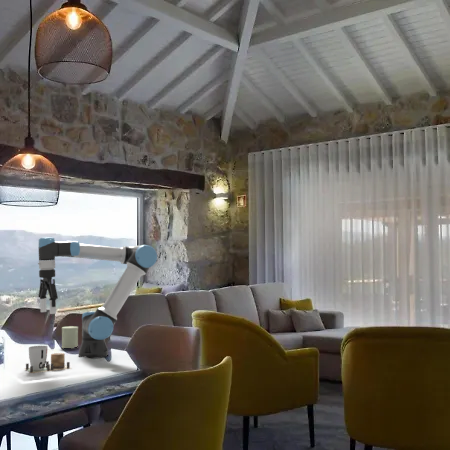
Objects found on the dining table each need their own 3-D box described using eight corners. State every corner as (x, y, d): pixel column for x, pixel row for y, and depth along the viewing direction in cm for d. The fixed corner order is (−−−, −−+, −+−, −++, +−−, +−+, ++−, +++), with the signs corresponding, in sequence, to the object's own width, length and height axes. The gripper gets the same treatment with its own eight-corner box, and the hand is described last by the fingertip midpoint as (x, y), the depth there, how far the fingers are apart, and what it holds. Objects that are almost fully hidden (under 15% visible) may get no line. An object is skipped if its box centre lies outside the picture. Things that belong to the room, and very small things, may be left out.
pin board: (63, 366, 265) (63, 358, 265) (71, 371, 254) (71, 362, 254) (23, 371, 255) (23, 363, 255) (31, 376, 244) (31, 367, 244)
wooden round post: (62, 365, 261) (62, 352, 262) (66, 367, 256) (66, 354, 256) (49, 367, 258) (49, 353, 258) (53, 369, 253) (53, 355, 253)
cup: (41, 371, 247) (41, 348, 248) (24, 370, 249) (25, 348, 250) (50, 368, 255) (51, 345, 256) (34, 367, 257) (34, 345, 257)
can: (81, 347, 323) (81, 326, 324) (67, 349, 316) (67, 327, 317) (72, 345, 329) (72, 325, 330) (58, 347, 322) (58, 326, 323)
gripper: (31, 269, 281) (32, 312, 280) (48, 269, 261) (49, 315, 260) (46, 268, 285) (47, 310, 284) (63, 268, 265) (65, 313, 264)
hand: (48, 313), depth 272 cm, fingers open, 13 cm apart
